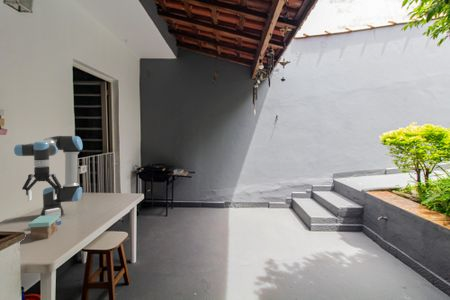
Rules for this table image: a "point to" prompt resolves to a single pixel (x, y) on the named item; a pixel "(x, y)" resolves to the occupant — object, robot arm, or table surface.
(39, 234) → the crate
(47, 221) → the lid
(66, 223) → the table surface
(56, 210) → the ink box
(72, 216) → the table surface
